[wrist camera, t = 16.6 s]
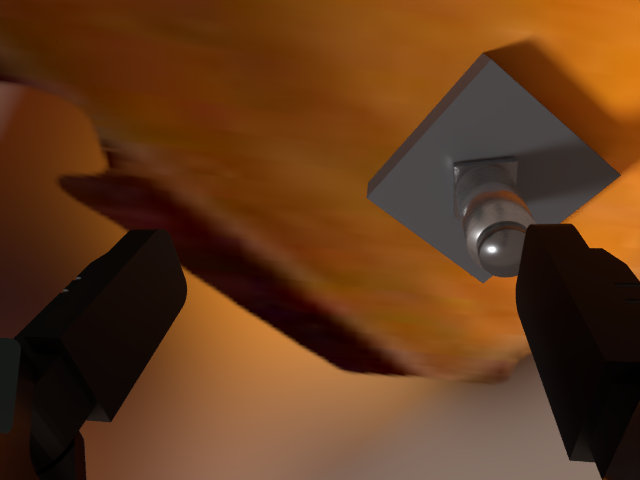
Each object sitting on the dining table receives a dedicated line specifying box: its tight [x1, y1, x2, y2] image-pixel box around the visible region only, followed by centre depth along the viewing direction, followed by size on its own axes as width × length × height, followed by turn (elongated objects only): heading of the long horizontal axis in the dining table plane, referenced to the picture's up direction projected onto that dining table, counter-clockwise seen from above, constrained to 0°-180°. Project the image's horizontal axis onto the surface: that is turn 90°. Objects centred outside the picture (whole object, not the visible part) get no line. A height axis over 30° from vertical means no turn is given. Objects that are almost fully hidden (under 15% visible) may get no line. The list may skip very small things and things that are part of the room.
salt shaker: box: [453, 157, 536, 277], centre depth 33 cm, size 5×5×11 cm
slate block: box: [367, 53, 621, 283], centre depth 39 cm, size 15×15×4 cm
